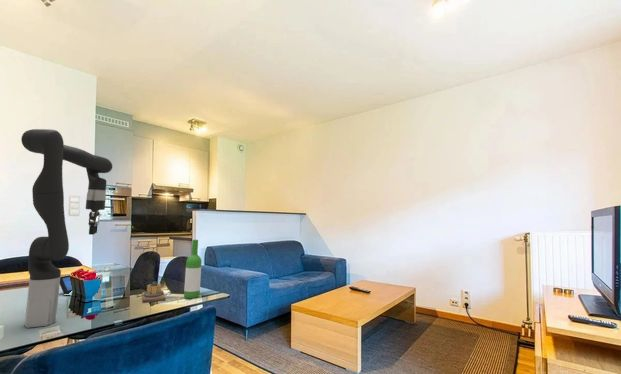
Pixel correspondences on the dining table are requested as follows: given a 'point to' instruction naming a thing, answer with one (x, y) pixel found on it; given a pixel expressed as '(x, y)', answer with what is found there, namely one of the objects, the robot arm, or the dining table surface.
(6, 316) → the dining table surface
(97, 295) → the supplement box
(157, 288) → the brown ribbed pot
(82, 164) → the robot arm
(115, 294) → the dining table surface
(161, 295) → the bobbin stand
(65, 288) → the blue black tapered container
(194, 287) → the wine bottle
